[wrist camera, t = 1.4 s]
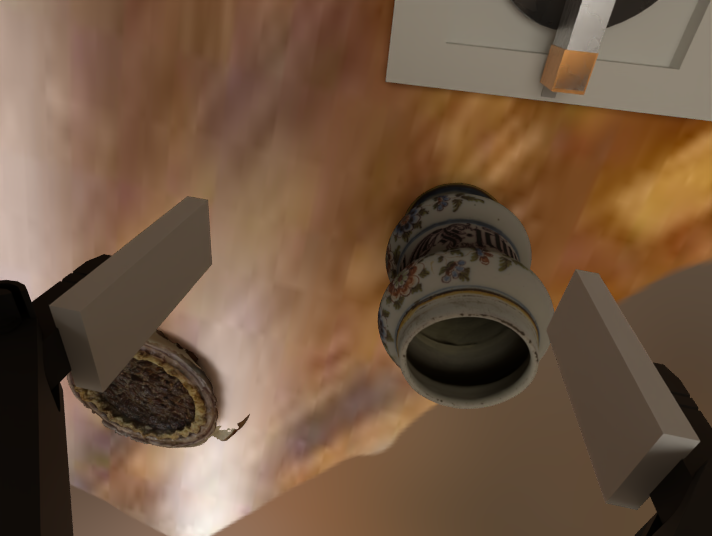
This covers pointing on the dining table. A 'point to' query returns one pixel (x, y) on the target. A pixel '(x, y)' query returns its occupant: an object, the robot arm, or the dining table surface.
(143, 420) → the pie
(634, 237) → the dining table surface
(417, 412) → the dining table surface
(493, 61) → the panel
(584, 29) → the dial
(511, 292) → the apothecary jar
